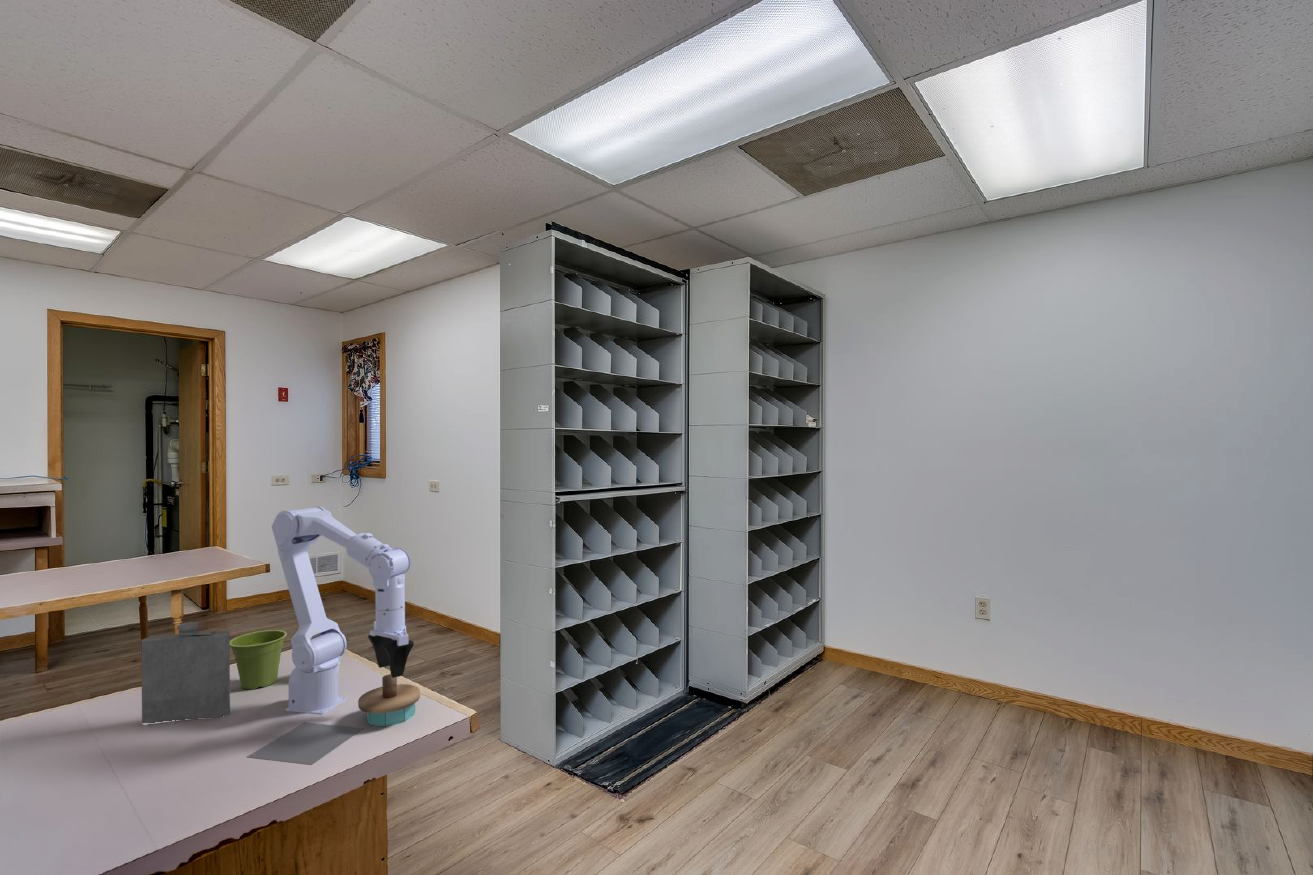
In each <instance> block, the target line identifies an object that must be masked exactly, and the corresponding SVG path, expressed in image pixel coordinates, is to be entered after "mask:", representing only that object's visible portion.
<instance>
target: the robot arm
mask: <svg viewBox="0 0 1313 875" xmlns="http://www.w3.org/2000/svg"><path fill="white" fill-rule="evenodd" d="M331 512H332V511H329V510H327V509H325V508H324V507H322V506H319V505H316V506H313V507H308V508H307V507H306V508H301V509H300V508H299V509H291V510H287V509H285V510H282V511H280V512H278V513H277V515H276V517H275V518H274V520H273V522H272V525H271V530H272V534H273V536H274V540H275V544H276V547H277V553H278V556H279V557H278V558H279V560H280V561H279V562H280V564H281V567H282V570H283V574H284V578H285V582H286V584H287V588H288V592H289V595H290V599H291V603H292V607H293V610H294V613H295V617H296V619H297V624H298V629H297V631H296V632H295V633H294V635H293V636H292V638H291V639H290V644H291V648H292V650H291V651H292V652H291V658H292V659H291V660H292V663H293V664H294V666H295V668H294V669H292V671H291V672H290V674H289V678H288V683H287V684H288V707H287V708H285V712H292V713H293V712H295V713H296V712H297V713H303V714H313V715H315V714H316V715H324V714H326V713H327V712H330V711H331V710H333V709H334V708H337V706H339V705H340V704H343V703H344V702H345V701H347V700H348V699H349V698H348V697H347V696H346V697H345V696H339V670H338V662H340V663H341V661H342V656H344V654H345V653H346V651H347V648H348V647H347V646H348V645H347V639H345V638H346V636H345V634H343V632H342V631H341V630H340V627H339V623H337V622H336V621H333V620H331V619H330V618H327V616H326V615H327V614H326V611H325V609H324V604H323V601H322V597H321V594H320V591H319V588H318V584H317V581H316V577H315V573H314V569H313V566H312V564H311V559H310V556H309V553H308V552H309V550H310V548H311V546H312V545H314V543H315V542H317V540H318V539H319V538H320V537H321V536H322V537H324V538H325V539H328V541H329V540H330V541H332V542H334V543H335V544H337V545H339V546H341V547H344V548H345V550H346V551H345V552H346V555H347V556H348V557H349V558H350V559H352V560H354V561H356V562H358V563H359V564H361V565H363V566H364V567H366V568H367V569H368V572H369V574H370V576H371V578H372V583H373V586H374V589H375V621H373V629H372V630H369V634H368V636H367V638H368V640H369V641H370V643H371V644H372V645H371V646H372V648H373V650H374V654H375V657H376V662H377V666H378V668H380V669H381V668H385V667H389V671H390V674H391V676H392V677H393V678H395V677H397V678H398V677H403V676H404V672H405V669H406V664H407V661H408V657H409V654H410V652H411V650H412V648H413V647H414V645H415V643H414V641H413V640H411V639H409V634H408V633H407V626H406V603H405V602H406V599H405V598H406V595H405V594H406V588H405V586H406V584H405V582H406V581H405V580H406V578H405V575H406V573H408V571H409V569H410V568H411V564H412V563H411V561H412V560H411V557H410V554H409V553H408V552H407V551H406V550H405V549H404V548H403V547H395V548H393V547H390V545H389V544H387V543H383V542H381V541H379V540H378V539H376V538H375V537H374V535H373V534H372V533H371V532H366V533H365V532H360V533H358V534H357V533H356V532H354V531H353V530H351V529H350V528H348V527H347V526H346V525H344V524H343V523H341V522H340V521H338V519H335V518H334V517H333V515H332V513H331ZM318 634H319V635H318ZM316 635H317V636H316ZM313 636H315V637H313ZM344 636H345V637H344Z"/></svg>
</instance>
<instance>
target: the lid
mask: <svg viewBox="0 0 1313 875" xmlns="http://www.w3.org/2000/svg"><path fill="white" fill-rule="evenodd" d="M381 679H382V681H381V682H382V683H381V684H382V685H381V686H379V687H376V688H372V689H371V690H368V691H366V692H365V693H363V694H362V695H361V696H360V697H359V698H358V700H357V701H358V702H357V703H358V704H357V706H358V710H360V711H362V712H364V713H366V712H368V713H387V712H393V711H397V710H401V709H404V708H406V707H409V706H411V705H412V704H414V703H415V704H416V703H417V702H418V701H419V700H420V698H421V690H420V688H419V687H418V686H416V685H412V684H409V683H408V684H407V683H400V684H399V683H398V677H395V678H393V677H392V676H391V673H390V674H386V675H384V676H382V678H381Z"/></svg>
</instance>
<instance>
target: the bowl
mask: <svg viewBox="0 0 1313 875" xmlns="http://www.w3.org/2000/svg"><path fill="white" fill-rule="evenodd" d="M365 713H366V720H367V723H368V724H369V725H371V726H375V727H387V726H389V727H390V726H393V725H398V724H401V723H403V722H406V721H408V720H409V719H411V718H412V717H413V716H414V714H415V713H416V703H414V704H412V705H411V706H409V707H406V708H404V709H401V710H397V711H393V712H387V713H368V712H365Z"/></svg>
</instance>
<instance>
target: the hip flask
mask: <svg viewBox="0 0 1313 875" xmlns="http://www.w3.org/2000/svg"><path fill="white" fill-rule="evenodd" d="M198 627H199V621H189V622H183V623H179V624H177V626H176V630H177V631H178V633H177V634H168V635H167V634H166V635H159V636H150V637H146V638H143V639H141V641H140V644H141V646H140V647H141V654H140V655H141V724H142V723H155V722H163V721H172V720H175V722H177V721H176V720H184V721H186V720H185V719H194V720H199V719H198V718H212V719H221V718H220V717H222V718H224V717H223V716H225V717H227V716H230V714H231V685H230V684H231V678H230V676H231V674H230V673H231V671H230V670H231V669H230V668H231V666H230V664H231V659H230V657H231V655H230V652H231V651H230V648H231V646H230V641H231V640H230V632H229V631H216V630H210V631H209V630H206V631H205V630H201V631H200V630H198ZM226 715H227V716H226Z"/></svg>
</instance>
